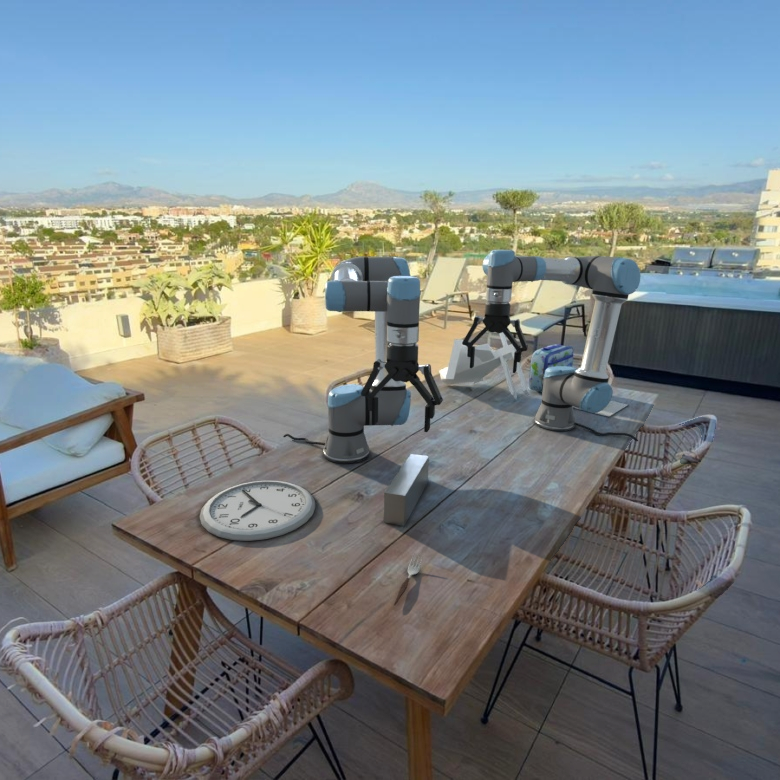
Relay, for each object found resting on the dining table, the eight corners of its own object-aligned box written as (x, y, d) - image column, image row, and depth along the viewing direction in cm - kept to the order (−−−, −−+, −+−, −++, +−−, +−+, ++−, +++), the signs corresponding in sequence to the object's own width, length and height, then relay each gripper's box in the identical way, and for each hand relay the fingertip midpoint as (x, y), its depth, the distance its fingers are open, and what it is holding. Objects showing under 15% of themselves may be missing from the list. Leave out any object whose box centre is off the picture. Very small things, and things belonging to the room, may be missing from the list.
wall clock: (312, 532, 127) (184, 536, 124) (312, 538, 127) (185, 542, 125) (317, 476, 155) (214, 478, 153) (318, 481, 156) (214, 483, 153)
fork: (388, 605, 105) (388, 597, 104) (412, 560, 119) (412, 553, 119) (400, 609, 104) (400, 600, 104) (423, 563, 119) (423, 555, 118)
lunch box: (545, 397, 238) (550, 352, 231) (524, 391, 245) (529, 348, 239) (572, 386, 255) (578, 344, 249) (552, 381, 262) (557, 340, 256)
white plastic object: (461, 429, 252) (437, 405, 227) (444, 352, 274) (420, 323, 250) (535, 404, 240) (518, 377, 215) (510, 326, 262) (492, 293, 237)
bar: (409, 479, 158) (410, 453, 155) (427, 482, 156) (428, 456, 154) (383, 522, 135) (384, 492, 132) (404, 526, 133) (405, 495, 131)
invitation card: (608, 416, 214) (573, 407, 224) (608, 416, 214) (573, 408, 224) (628, 404, 229) (594, 396, 238) (628, 405, 229) (594, 397, 238)
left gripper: (347, 341, 124) (348, 425, 130) (451, 350, 117) (446, 438, 123) (359, 336, 131) (359, 415, 137) (457, 344, 124) (452, 427, 130)
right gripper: (455, 301, 160) (451, 367, 166) (538, 306, 151) (531, 377, 158) (461, 298, 167) (457, 362, 173) (541, 303, 158) (534, 371, 164)
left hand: (400, 426), depth 130 cm, fingers open, 13 cm apart
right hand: (492, 369), depth 165 cm, fingers open, 13 cm apart
